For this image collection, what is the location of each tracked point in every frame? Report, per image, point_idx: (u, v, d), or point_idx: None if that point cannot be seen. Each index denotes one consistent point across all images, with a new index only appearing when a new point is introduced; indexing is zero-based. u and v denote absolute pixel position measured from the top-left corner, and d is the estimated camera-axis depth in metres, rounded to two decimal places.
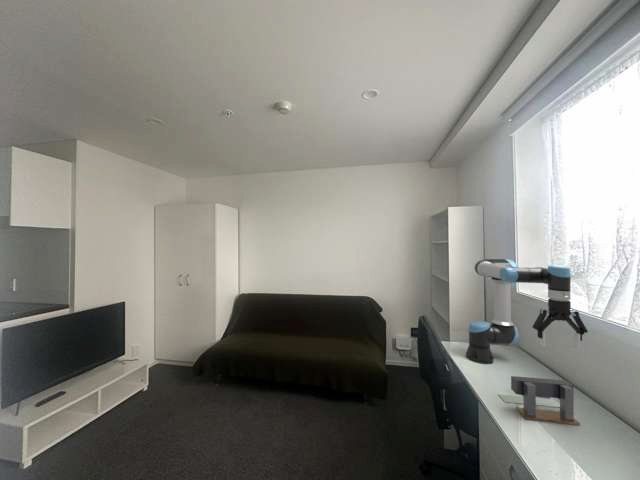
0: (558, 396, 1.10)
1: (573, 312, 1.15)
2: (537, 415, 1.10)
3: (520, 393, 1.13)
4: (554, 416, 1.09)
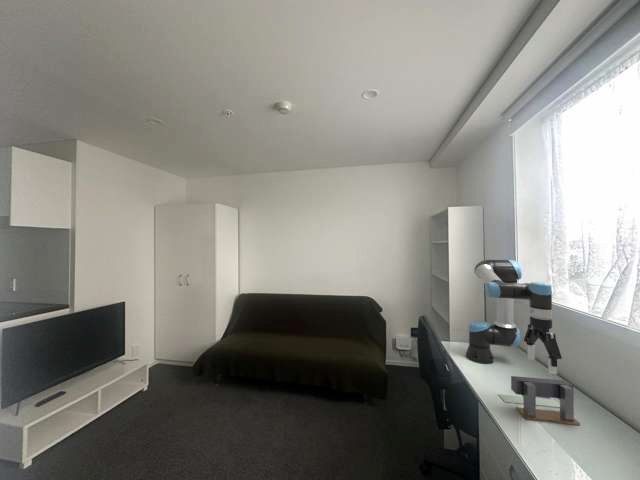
0: (558, 396, 1.10)
1: None
2: (537, 415, 1.10)
3: (520, 393, 1.13)
4: (554, 416, 1.09)
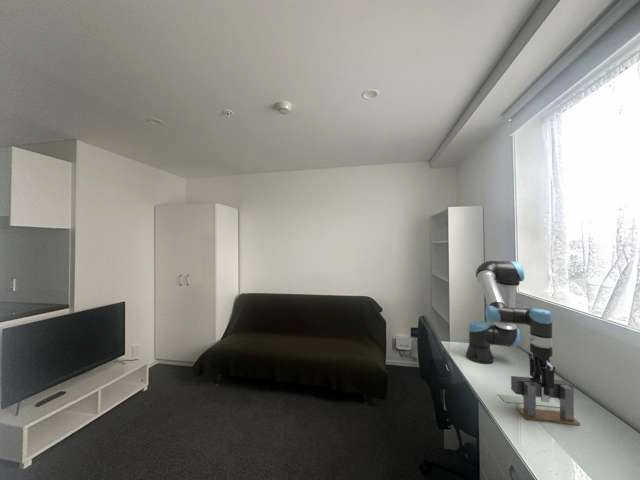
0: (558, 396, 1.10)
1: (548, 365, 1.08)
2: (537, 415, 1.10)
3: (520, 393, 1.13)
4: (554, 416, 1.09)
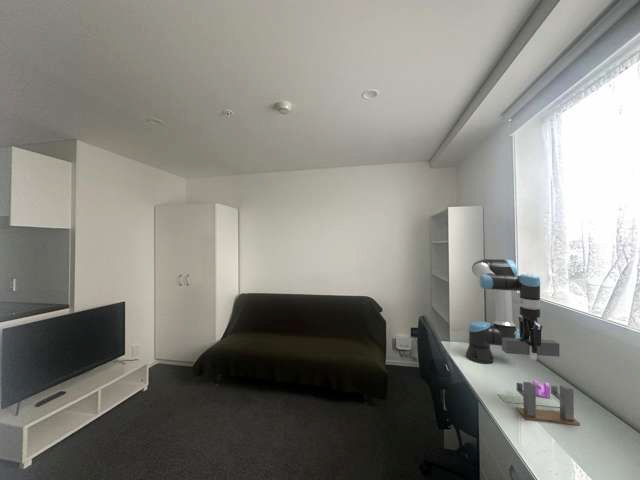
0: (545, 354, 1.18)
1: (536, 324, 1.16)
2: (537, 415, 1.10)
3: (510, 352, 1.21)
4: (554, 416, 1.09)
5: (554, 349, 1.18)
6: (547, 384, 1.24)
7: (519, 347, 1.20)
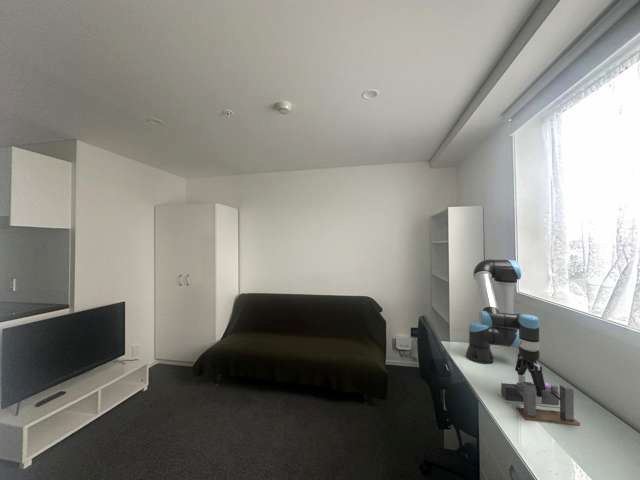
0: (544, 402, 1.19)
1: None
2: (537, 415, 1.10)
3: (509, 399, 1.21)
4: (554, 416, 1.09)
5: (553, 398, 1.18)
6: (547, 384, 1.24)
7: (518, 394, 1.20)
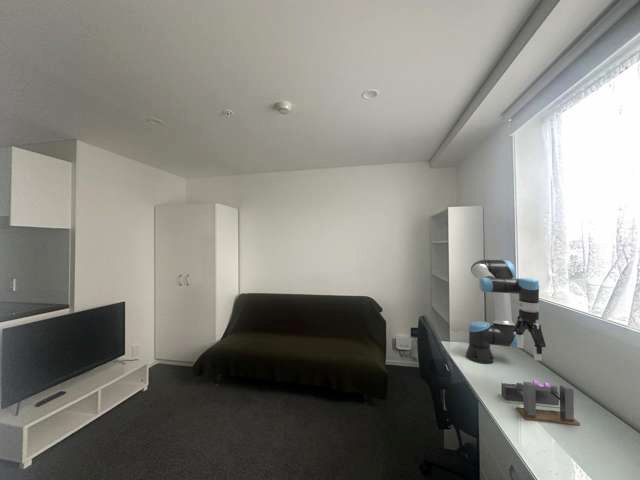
0: (544, 402, 1.19)
1: None
2: (537, 415, 1.10)
3: (509, 399, 1.21)
4: (554, 416, 1.09)
5: (553, 398, 1.18)
6: (547, 384, 1.24)
7: (518, 394, 1.20)
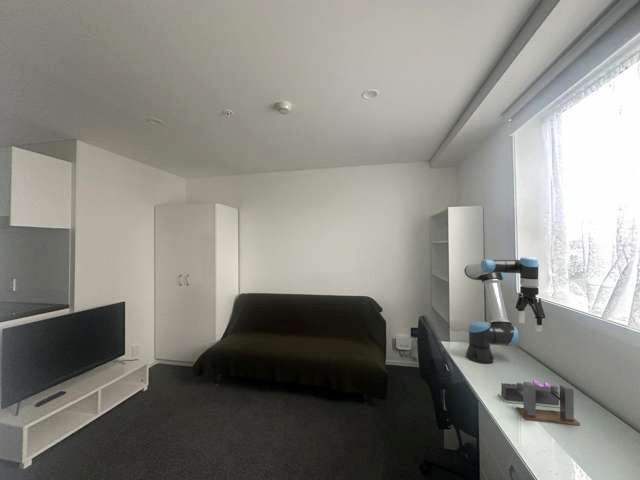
0: (544, 402, 1.19)
1: None
2: (537, 415, 1.10)
3: (509, 399, 1.21)
4: (554, 416, 1.09)
5: (553, 398, 1.18)
6: (547, 384, 1.24)
7: (518, 394, 1.20)
